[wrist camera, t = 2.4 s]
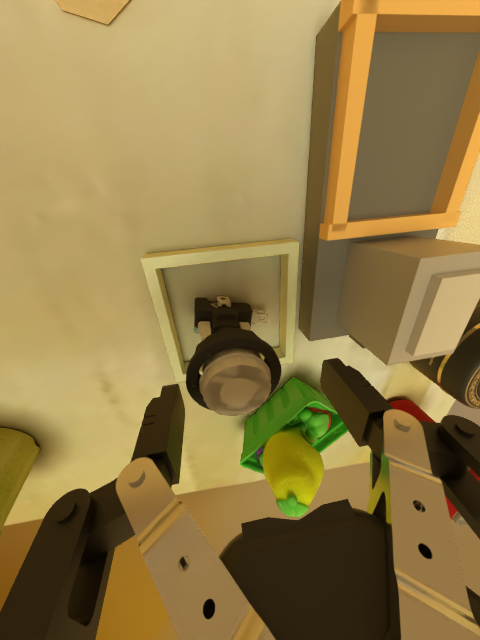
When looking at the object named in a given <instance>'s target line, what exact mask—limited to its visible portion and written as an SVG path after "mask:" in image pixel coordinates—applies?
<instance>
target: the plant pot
mask: <svg viewBox="0 0 480 640" xmlns="http://www.w3.org/2000/svg"><path fill="white" fill-rule="evenodd" d="M39 452H40V448H39V447H37V446H36V445H35V442H34V439H33V438H32V437H31V436H29V435H27V434H25V433H23V432H20V431H17V430H13V429H8V428H0V537H1V535H2V531H3V525H4V523H5V521H6V519H7V517H8V515H9V513H10V511H11V509H12V507H13V504H14V502H15V500H16V498H17V496H18V494H19V492H20V490H21V488H22V486H23V484H24V482H25V480H26V478H27V476H28V474H29V472H30V470H31V468H32V466H33V464H34V462H35V460H36V458H37V456H38V454H39Z"/></svg>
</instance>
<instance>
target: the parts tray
mask: <svg viewBox="0 0 480 640" xmlns="http://www.w3.org/2000/svg"><path fill="white" fill-rule="evenodd" d="M272 255H281V281H280V347H277V348H273V349H274V351H275V352H276V354H277V356H278V358H279V361H280V364H286V363H292V362H293V351H294V332H295V312H296V293H297V274H298V255H299V241H296V240H293V239H282V240H273V241H263V242H254V243H244V244H235V245H225V246H216V247H206V248H197V249H187V250H178V251H169V252H159V253H150V254H145V255H144V256H143V257H142V258H141V263H142V266H143V270H144V273H145V277H146V280H147V284H148V287H149V291H150V294H151V298H152V301H153V304H154V308H155V311H156V315H157V318H158V322H159V325H160V329H161V332H162V336H163V339H164V343H165V346H166V350H167V353H168V357H169V360H170V364H171V367H172V370H173V374H174V377H175V381H176V382H182V381H186V372H187V367H188V364H189V362H184V361H183V357H182V353H181V349H180V345H179V341H178V337H177V333H176V329H175V325H174V321H173V317H172V313H171V309H170V305H169V301H168V297H167V293H166V289H165V285H164V281H163V277H162V273H161V269H160V268H167V267H176V266H184V265H193V264H202V263H211V262H220V261H228V260H237V259H246V258H255V257H264V256H272ZM259 354H260V356H261V359H262V360H263V361H264V356H263V355H262V354H261V353H259ZM199 372H200V374H201V375H202V374H203V373H202V366H201V368H200V370H199Z"/></svg>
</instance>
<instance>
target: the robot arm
mask: <svg viewBox="0 0 480 640" xmlns="http://www.w3.org/2000/svg"><path fill="white" fill-rule="evenodd" d="M320 383H321V388H322V390H323V392H324V394H325V395H326V397H327V398H328V400H329V401H330V403H331V404H332V406H333V407H334V409H335V411H336V412H337V414H338V415H339V417H340V418H341V420H342V421H343V423H344V424H345V426H346V427H347V429H348V430H349V432H350V433H351V435H352V436H353V438H354V440H355V441H356V443H357V444H358V446H359V447H361V446H366V445H368V446H369V447H370V449H371V454H370V492H369V493H370V494H369V500H368V505H367V512H365V511H363V510H360V509H356V508H352V507H351V505H350V503H349V501H348V499H346V500H342V501H337V502H332V503H328V504H324V505H322V506H320V507H318V508H317V509H315V510H314V511H312V512H311V513H309V514H308V515H306V516H305V517H303V518H302V519H300V520H289V519H279V518H270V517H268V518H263V519H259V520H255V521H251V522H246V523H242V524H241V525H242V533H240V534H239V535H237V536H236V537H235V538H234V539H232V540H231V541H230V542H229V543H228V545H227V546H226V547H225V548H224V549H223V551H222V552H221V554H220V555H219V557H218V556H217V554H216V552H215V551H214V549H213V548H212V546H211V545H210V544H209V542H208V541H207V539H206V537H205V536H204V534H203V533H202V532H201V530H200V528H199V527H198V525H197V524H196V522H195V521H194V519H193V518H192V516H191V515H190V513H189V512H188V510H187V509H186V507H185V506H184V505H183V503H182V502H180V501H179V500H178V498H177V497H176V495H175V494H174V492H173V491H172V489H171V486H172V485H174V484H178V483H179V478H180V466H181V455H182V443H183V432H184V421H185V407H184V402H183V399H182V395H181V392H180V388H179V385H178V384H173V385H167V386H163V387H162V391H161V395H160V397H157V398H153V399H152V400H151V402H150V403H149V404H148V406H147V407H146V411H145V414H144V419H143V421H142V427H141V428H140V432H139V435H138V439H137V442H136V446H135V449H134V453H133V457H132V459H131V462H130V463H129V464H128V465H127V466H126V467H125V468H124V469H123V470H122V471H121V473H120V475H119V476H118V478H116V479H115V480H114V481H112V482H110V483H108V484H106V485H104V486H102V487H101V488H99V489H97V490H95V491H93V492H91V493H89V492H88V491H87V490H85V489H75V490H72V491H70V492H68V493H67V494H65V495H63V496H62V497H61V498H60V499H59V500H57V501H56V502H55V503H54V504H53V506H52V507H51V508H50V509H49V511H48V512H47V514H46V516H45V517H44V519H43V522H42V524H41V526H40V528H39V530H38V533H37V535H36V537H35V539H34V541H33V543H32V545H31V547H30V550H29V552H28V554H27V556H26V558H25V560H24V563H23V564H22V567H21V569H20V571H19V573H18V575H17V577H16V579H15V582H14V584H13V586H12V588H11V590H10V592H9V595H8V597H7V599H6V601H5V603H4V605H3V608H2V610H1V612H0V640H95V638H96V634H97V629H98V625H99V620H100V615H101V610H102V606H103V601H104V597H105V592H106V587H107V582H108V578H109V573H110V569H111V564H112V560H113V554H114V550H115V547H117V546H118V545H120V544H121V543H123V542H124V541H126V540H128V539H129V538H131V537H132V536H134V535H136V537H137V539H138V541H139V548H140V550H141V553H142V555H143V558H144V560H145V562H146V565H147V567H148V569H149V571H150V573H151V576H152V578H153V581H154V583H155V585H156V587H157V590H158V592H159V594H160V596H161V599H162V601H163V603H164V606H165V608H166V610H167V612H168V615H169V617H170V619H171V622H172V624H173V626H174V628H175V631H176V633H177V635H178V638H179V640H480V596H478V595H477V594H476V593H474V592H473V591H472V590H471V589H469V588H468V587H467V586H466V585H465V582H464V578H463V573H462V569H461V564H460V560H459V556H458V551H457V546H456V542H455V538H454V533H453V529H452V524H451V520H450V516H449V511H448V507H447V502H446V498H445V496H446V497H447V498H448V499H449V501H450V502H451V503H452V505H453V506H454V507H455V508H456V510H457V511H458V512H459V513H460V515H461V516H462V517H463V518H464V520H465V521H466V522H467V524H468V525H469V526H470V527H471V529H472V530H473V531H474V532H475V534H476V535H477V536H478V538H479V539H480V482H479V481H478V480H477V479H476V477H475V476H474V475H473V474H472V473H471V472H470V471H469V470H470V468H471V469H472V470H473V471H474V472H475V473H476V474H477V475H478V476H479V477H480V427H479V426H478V425H477V424H475V423H474V422H472V421H470V420H468V419H465V418H463V417H460V416H455V415H448V416H445V417H444V418H443V419H442V421H441V422H440V423H433V422H424V421H418V420H417V419H416V418H414V417H413V416H412V415H410V414H408V413H406V412H404V411H401V410H395V409H394V408H393V407H392V406H391V405H390V404H389V403H388V402H387V401H386V400H385V399H384V397H383V396H382V395H381V394H380V393H379V392H378V391H377V390H376V389H375V388H374V387H373V386H371V384H370V383H369V382H368V381H367V380H366V379H365V378H364V377H363V375H362V374H361V373H360V372H359V371H357V370H355V369H354V368H352V367H350V366H345V365H344V364H343V362H342V361H341V360H340V359H338V358H335V359H329V360H324V361H323V364H322V372H321V380H320Z"/></svg>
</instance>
